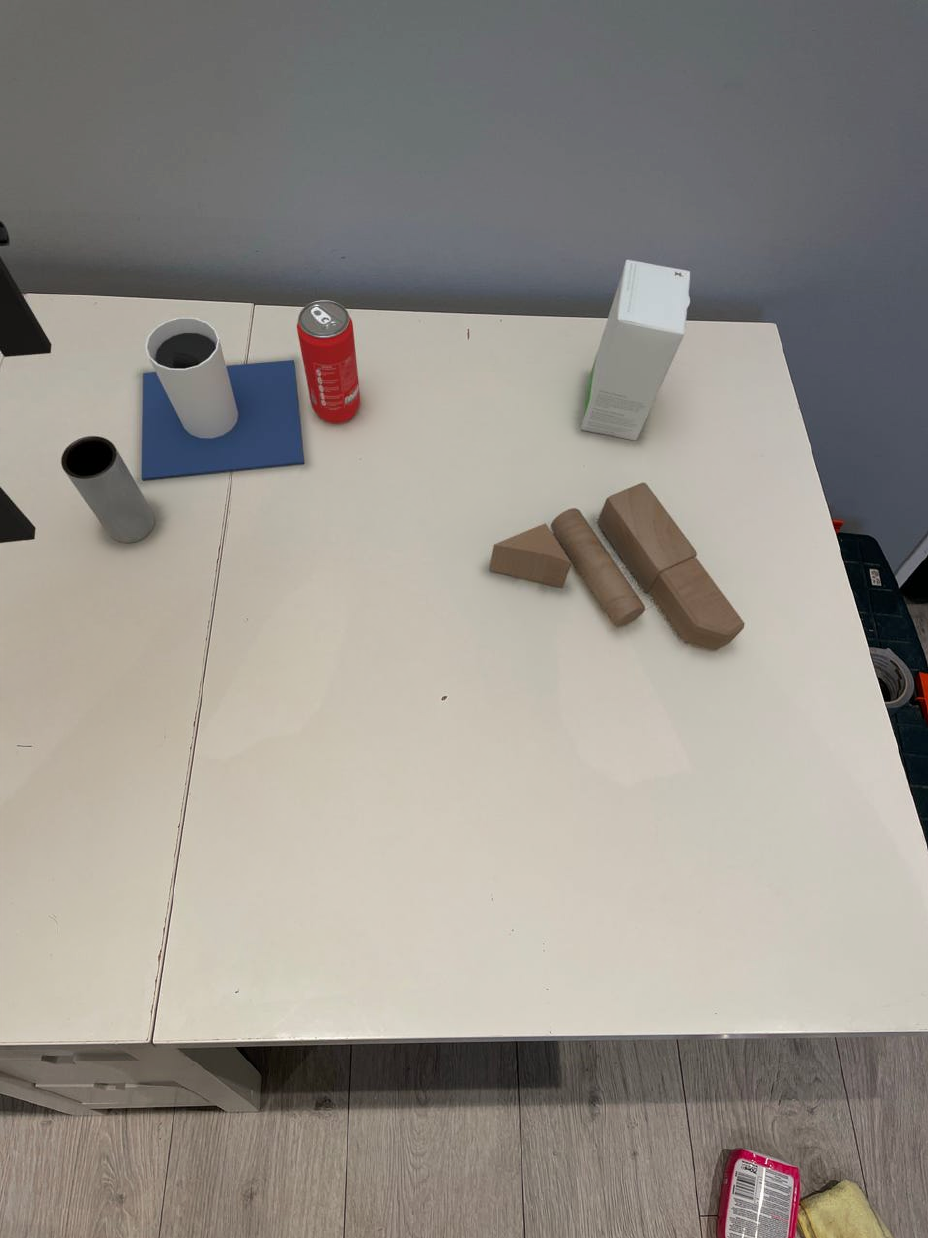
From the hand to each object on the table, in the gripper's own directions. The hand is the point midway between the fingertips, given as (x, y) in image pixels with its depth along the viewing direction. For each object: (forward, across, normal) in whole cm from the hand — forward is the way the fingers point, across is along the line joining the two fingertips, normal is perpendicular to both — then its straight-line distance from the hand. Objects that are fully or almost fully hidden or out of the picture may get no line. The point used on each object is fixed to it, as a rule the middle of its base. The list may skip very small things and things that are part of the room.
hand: (19, 437), depth 43 cm
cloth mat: (+27, +24, -6) cm, 36 cm away
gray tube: (+27, +12, +3) cm, 30 cm away
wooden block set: (+27, -3, -41) cm, 49 cm away
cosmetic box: (+27, +20, -48) cm, 59 cm away
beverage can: (+27, +24, -18) cm, 40 cm away
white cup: (+26, +24, -5) cm, 36 cm away
